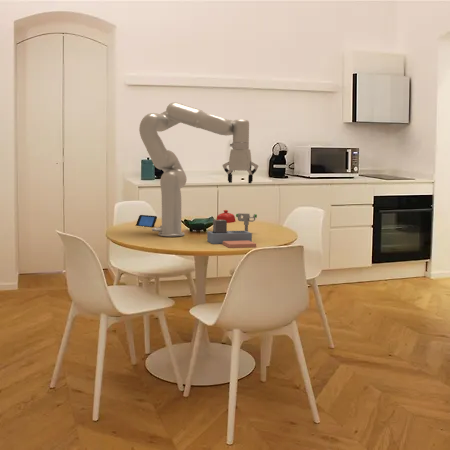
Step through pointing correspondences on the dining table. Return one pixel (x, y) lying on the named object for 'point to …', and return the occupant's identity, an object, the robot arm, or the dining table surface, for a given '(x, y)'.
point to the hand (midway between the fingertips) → (240, 182)
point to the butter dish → (226, 217)
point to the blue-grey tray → (228, 236)
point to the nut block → (219, 226)
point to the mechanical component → (245, 219)
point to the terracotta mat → (239, 244)
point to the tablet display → (146, 221)
